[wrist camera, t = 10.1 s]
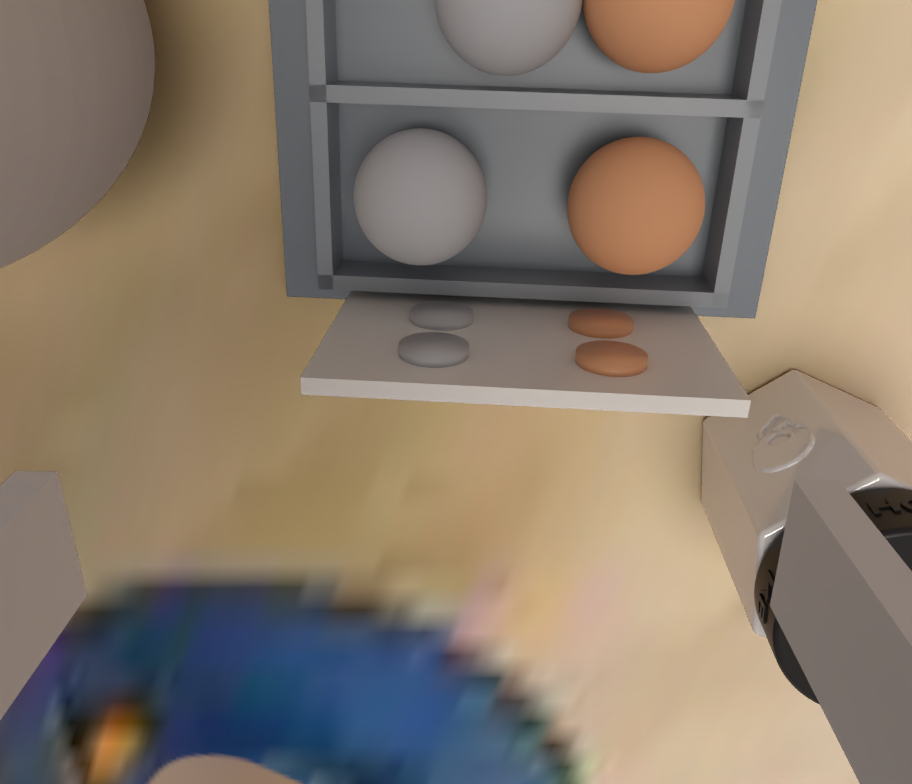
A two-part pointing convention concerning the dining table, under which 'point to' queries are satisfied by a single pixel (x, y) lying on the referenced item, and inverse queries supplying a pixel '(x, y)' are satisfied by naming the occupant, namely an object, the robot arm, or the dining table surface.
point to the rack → (528, 209)
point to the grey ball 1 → (420, 196)
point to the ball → (655, 30)
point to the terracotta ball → (636, 205)
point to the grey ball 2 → (507, 31)
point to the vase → (67, 111)
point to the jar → (772, 477)
